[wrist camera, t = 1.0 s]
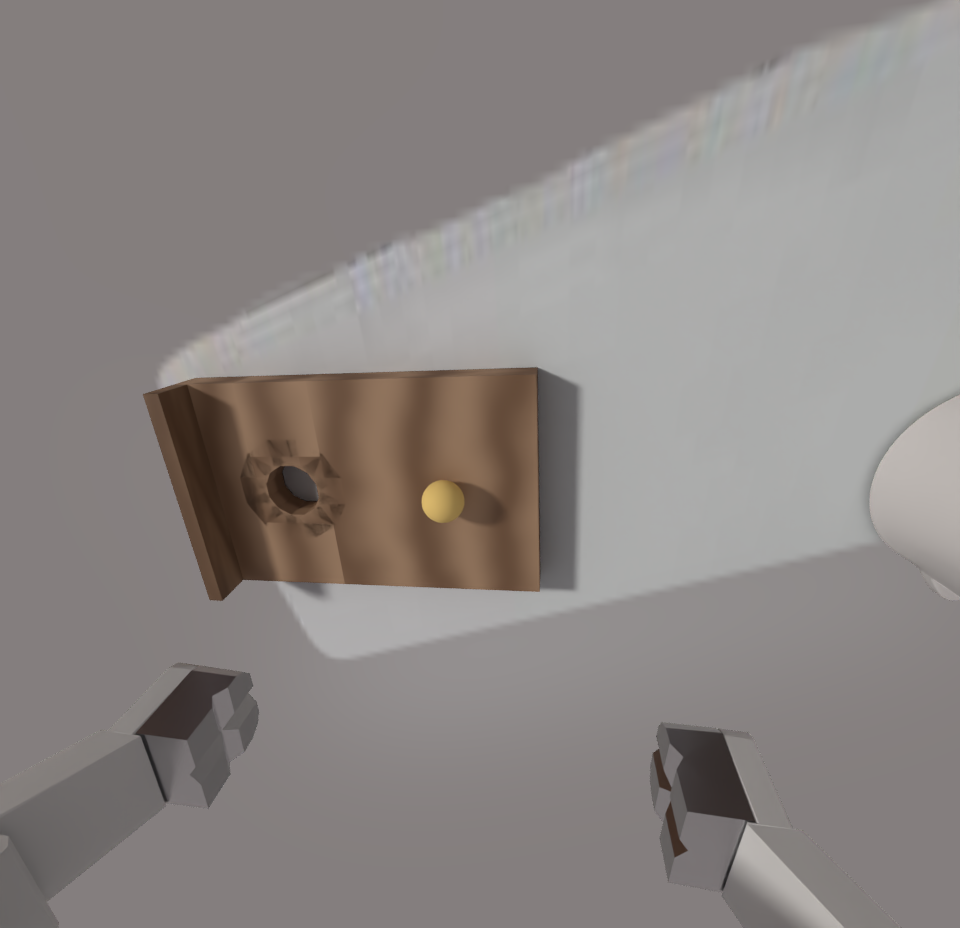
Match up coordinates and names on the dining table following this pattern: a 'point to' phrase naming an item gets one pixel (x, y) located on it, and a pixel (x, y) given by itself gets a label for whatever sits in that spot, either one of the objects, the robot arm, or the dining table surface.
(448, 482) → the ball
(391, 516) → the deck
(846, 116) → the dining table surface
